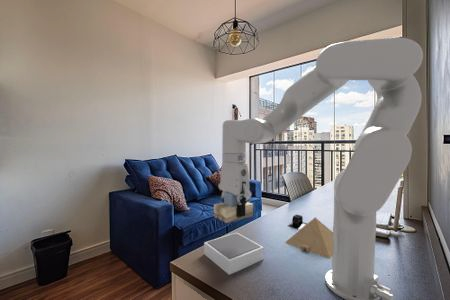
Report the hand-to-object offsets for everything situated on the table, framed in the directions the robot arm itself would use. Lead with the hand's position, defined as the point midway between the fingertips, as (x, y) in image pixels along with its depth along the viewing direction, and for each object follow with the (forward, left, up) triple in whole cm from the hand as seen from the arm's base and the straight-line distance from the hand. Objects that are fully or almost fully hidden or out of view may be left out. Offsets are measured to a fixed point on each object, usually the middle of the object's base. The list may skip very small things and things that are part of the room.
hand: (233, 212), depth 72 cm
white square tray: (0, 0, -15) cm, 15 cm away
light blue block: (0, 0, +3) cm, 3 cm away
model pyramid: (-10, -31, -16) cm, 36 cm away
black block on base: (+4, -41, -16) cm, 44 cm away
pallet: (0, 0, -1) cm, 1 cm away
